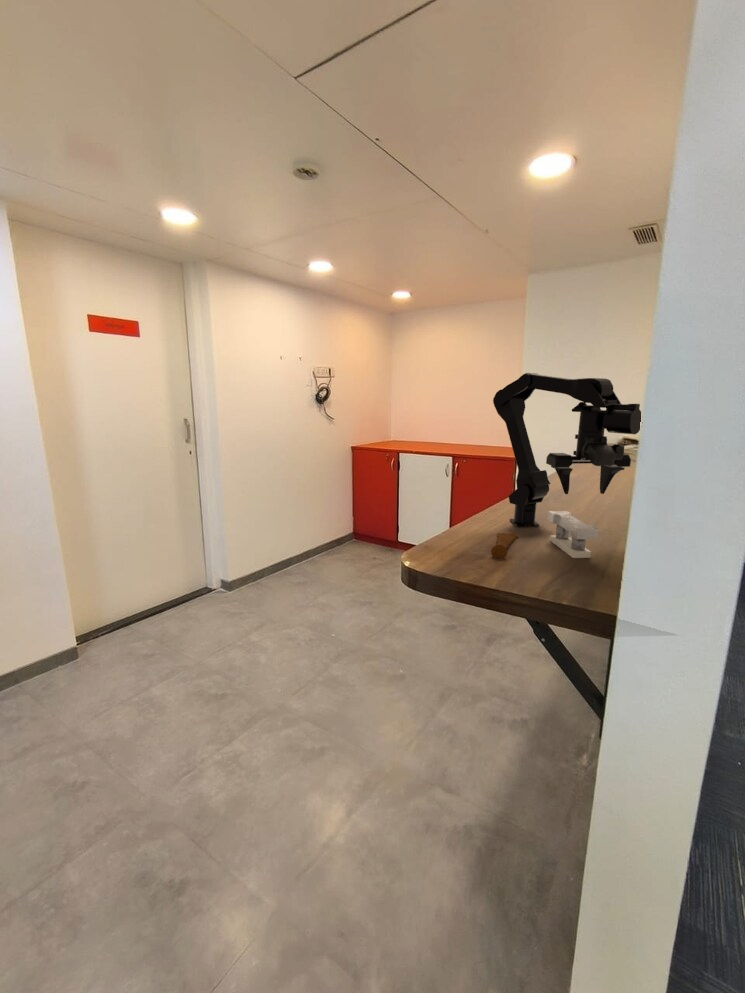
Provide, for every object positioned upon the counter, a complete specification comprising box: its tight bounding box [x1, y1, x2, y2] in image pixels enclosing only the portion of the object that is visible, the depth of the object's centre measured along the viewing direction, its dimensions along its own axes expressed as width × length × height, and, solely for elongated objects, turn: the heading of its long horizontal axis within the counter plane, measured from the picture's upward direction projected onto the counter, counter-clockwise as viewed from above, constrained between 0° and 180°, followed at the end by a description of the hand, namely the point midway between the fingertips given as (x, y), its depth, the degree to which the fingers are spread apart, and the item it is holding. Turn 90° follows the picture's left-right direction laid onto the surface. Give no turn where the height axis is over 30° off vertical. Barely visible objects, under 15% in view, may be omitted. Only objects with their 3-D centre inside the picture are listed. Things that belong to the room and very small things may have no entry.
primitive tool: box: [490, 532, 519, 559], centre depth 109 cm, size 19×6×4 cm, turn 160°
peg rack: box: [549, 524, 592, 559], centre depth 107 cm, size 12×4×5 cm, turn 3°
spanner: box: [547, 510, 600, 540], centre depth 106 cm, size 5×15×2 cm, turn 2°
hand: (584, 493), depth 111 cm, fingers open, 9 cm apart
